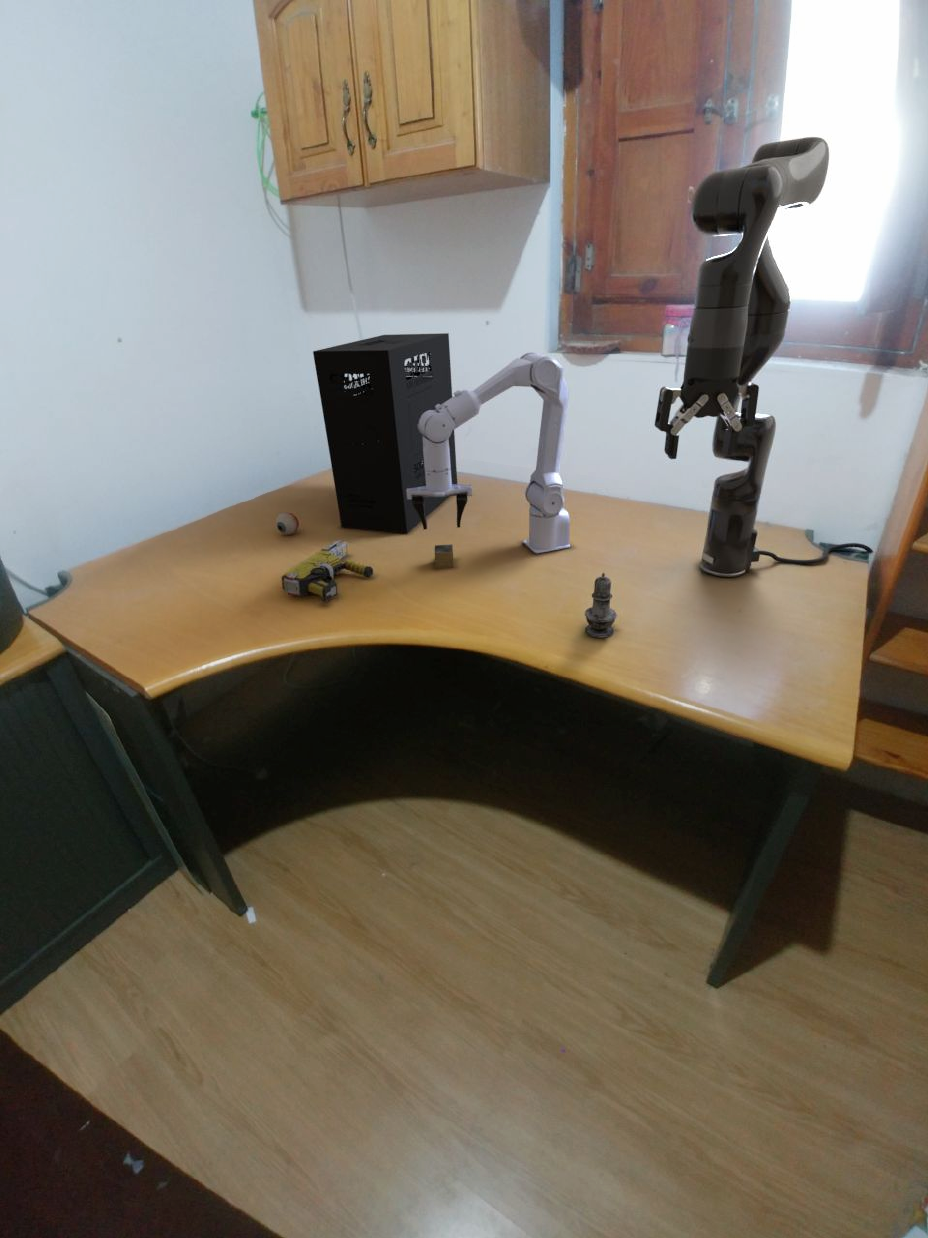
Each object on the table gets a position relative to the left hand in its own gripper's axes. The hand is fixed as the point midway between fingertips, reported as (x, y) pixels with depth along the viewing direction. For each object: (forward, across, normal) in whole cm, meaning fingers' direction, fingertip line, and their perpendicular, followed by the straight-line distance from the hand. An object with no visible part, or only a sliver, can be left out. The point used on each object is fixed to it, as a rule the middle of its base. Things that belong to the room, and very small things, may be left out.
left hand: (442, 526), depth 139 cm
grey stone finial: (+9, +30, -34) cm, 46 cm away
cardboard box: (+9, -13, +42) cm, 45 cm away
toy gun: (+9, -24, -5) cm, 27 cm away
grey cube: (+9, 0, 0) cm, 9 cm away
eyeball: (+9, -43, +25) cm, 50 cm away
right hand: (-24, +42, -38) cm, 61 cm away
